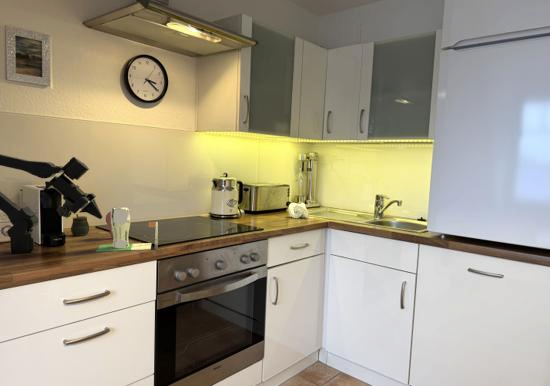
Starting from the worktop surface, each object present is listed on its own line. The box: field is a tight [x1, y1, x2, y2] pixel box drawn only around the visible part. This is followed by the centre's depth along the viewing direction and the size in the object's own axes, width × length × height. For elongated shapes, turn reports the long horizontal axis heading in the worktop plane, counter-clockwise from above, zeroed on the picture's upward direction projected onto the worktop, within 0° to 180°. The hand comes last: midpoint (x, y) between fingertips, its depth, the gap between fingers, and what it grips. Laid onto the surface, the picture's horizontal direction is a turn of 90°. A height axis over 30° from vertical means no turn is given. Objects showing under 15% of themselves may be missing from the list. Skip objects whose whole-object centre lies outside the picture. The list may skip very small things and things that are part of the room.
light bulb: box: [105, 210, 113, 239], centre depth 163 cm, size 7×7×12 cm
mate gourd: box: [70, 213, 90, 237], centre depth 167 cm, size 7×8×10 cm
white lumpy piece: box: [288, 202, 309, 219], centre depth 234 cm, size 11×12×9 cm
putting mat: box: [95, 221, 159, 253], centre depth 147 cm, size 22×10×9 cm, turn 106°
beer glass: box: [110, 206, 131, 249], centre depth 146 cm, size 7×7×15 cm
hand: (101, 218), depth 144 cm, fingers closed
